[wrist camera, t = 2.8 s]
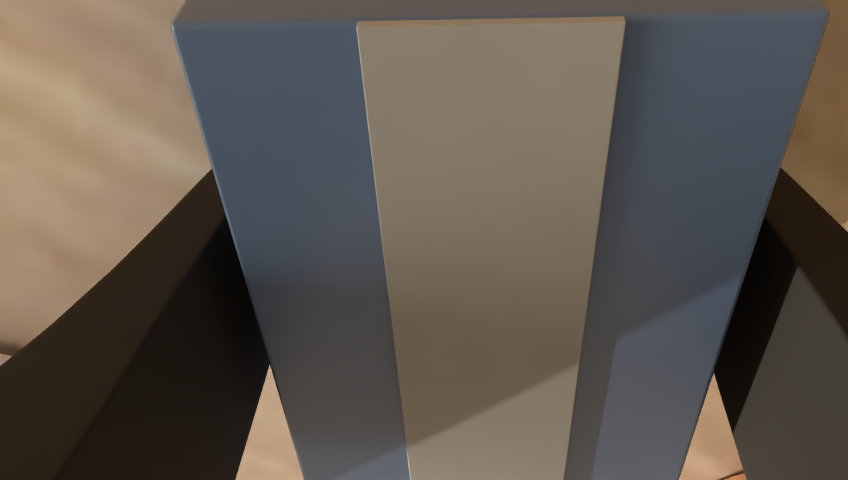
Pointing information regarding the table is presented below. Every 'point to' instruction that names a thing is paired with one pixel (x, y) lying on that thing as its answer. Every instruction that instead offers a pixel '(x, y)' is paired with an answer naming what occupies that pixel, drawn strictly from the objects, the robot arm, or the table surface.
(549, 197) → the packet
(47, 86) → the table surface
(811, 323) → the robot arm
